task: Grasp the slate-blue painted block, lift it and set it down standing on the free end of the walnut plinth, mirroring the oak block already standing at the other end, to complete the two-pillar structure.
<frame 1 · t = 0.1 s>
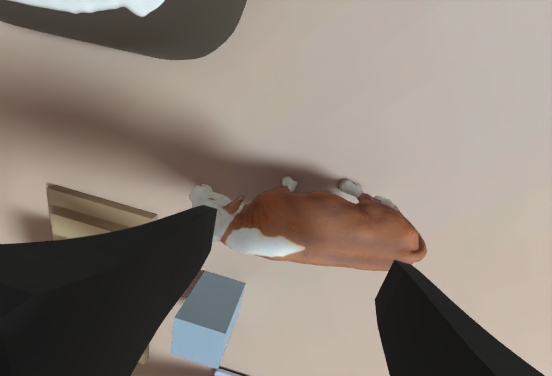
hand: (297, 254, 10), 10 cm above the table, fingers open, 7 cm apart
slate block: (222, 293, 25), on the table
plinth: (107, 281, 27), on the table
bull figurine: (305, 194, 20), on the table
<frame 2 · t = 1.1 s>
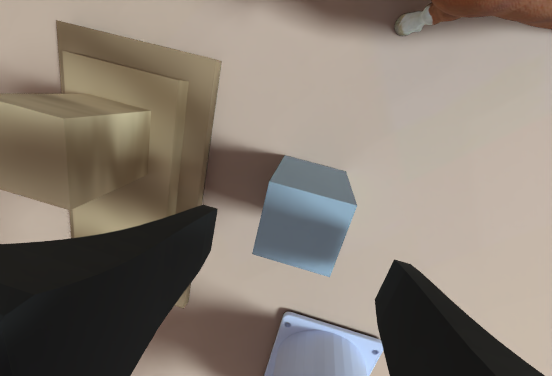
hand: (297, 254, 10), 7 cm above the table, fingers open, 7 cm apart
oak block: (118, 135, 16), point 2 cm above the table, touching plinth
slate block: (306, 191, 17), on the table
plinth: (137, 184, 19), on the table
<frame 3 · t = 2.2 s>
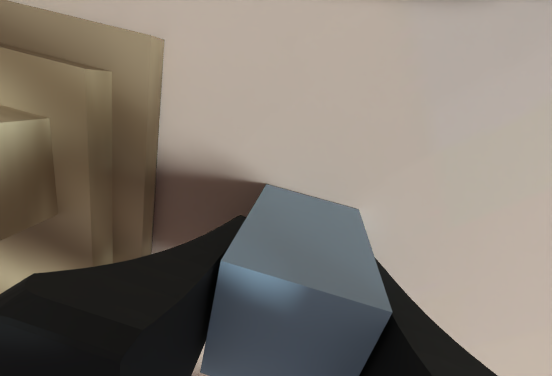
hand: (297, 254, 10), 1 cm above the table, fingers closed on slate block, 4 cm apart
oak block: (8, 156, 10), point 2 cm above the table, touching plinth
slate block: (299, 236, 12), on the table, touching gripper
plinth: (62, 220, 14), on the table
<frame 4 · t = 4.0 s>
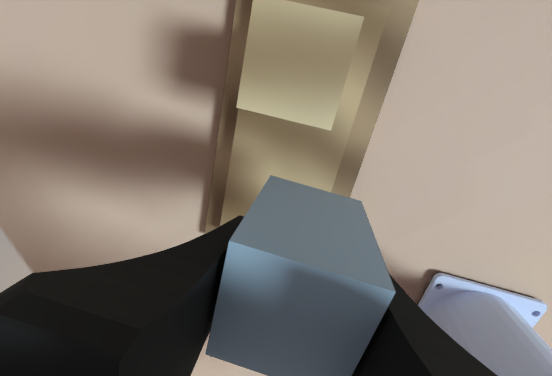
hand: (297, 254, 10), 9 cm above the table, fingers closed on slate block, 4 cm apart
oak block: (303, 75, 15), point 2 cm above the table, touching plinth
slate block: (302, 227, 12), point 8 cm above the table, touching gripper
plinth: (291, 138, 18), on the table
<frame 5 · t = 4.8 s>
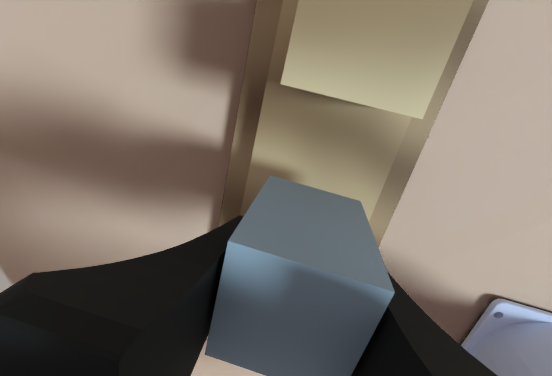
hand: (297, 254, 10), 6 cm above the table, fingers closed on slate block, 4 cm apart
oak block: (352, 51, 12), point 2 cm above the table, touching plinth
slate block: (302, 227, 12), point 5 cm above the table, touching gripper
plinth: (325, 133, 15), on the table
when the fingers open (4 cm above the table, at t = 5.6 s): slate block stays where it is, resting on plinth.
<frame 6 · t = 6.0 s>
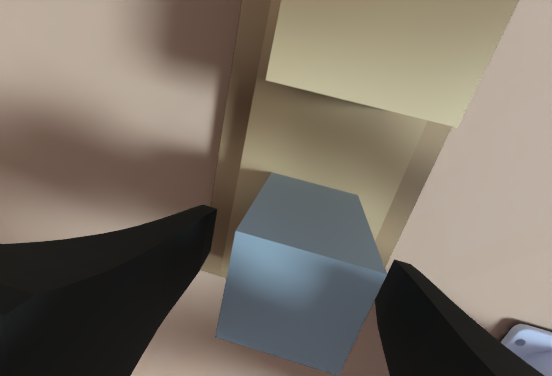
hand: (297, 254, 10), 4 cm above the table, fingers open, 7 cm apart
oak block: (357, 43, 10), point 2 cm above the table, touching plinth
slate block: (303, 221, 13), point 2 cm above the table, touching plinth
plinth: (324, 138, 13), on the table
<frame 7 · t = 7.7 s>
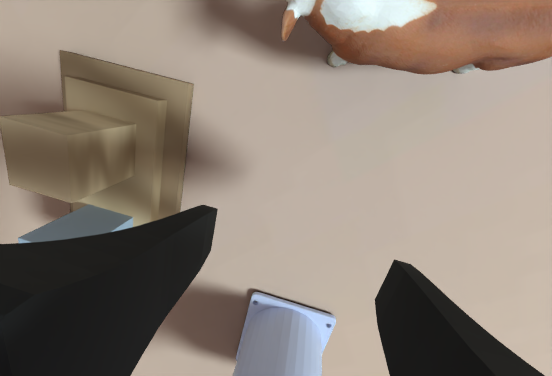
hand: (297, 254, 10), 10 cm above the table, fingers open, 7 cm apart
oak block: (110, 143, 20), point 2 cm above the table, touching plinth
slate block: (111, 230, 22), point 2 cm above the table, touching plinth
plinth: (127, 183, 23), on the table
bull figurine: (383, 39, 17), on the table
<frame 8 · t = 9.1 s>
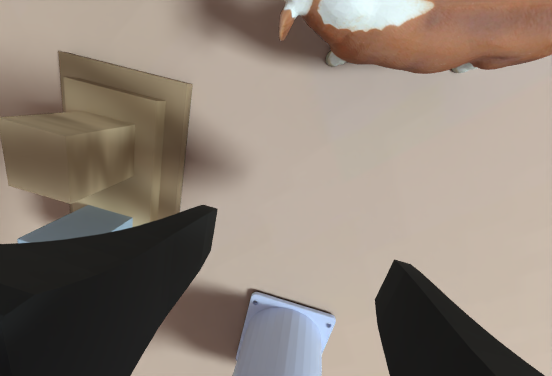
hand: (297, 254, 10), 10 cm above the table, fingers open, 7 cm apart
oak block: (109, 144, 20), point 2 cm above the table, touching plinth
slate block: (110, 231, 22), point 2 cm above the table, touching plinth
plinth: (127, 184, 23), on the table
bull figurine: (382, 38, 17), on the table
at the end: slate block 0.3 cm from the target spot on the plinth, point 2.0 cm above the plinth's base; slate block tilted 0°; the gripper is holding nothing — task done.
